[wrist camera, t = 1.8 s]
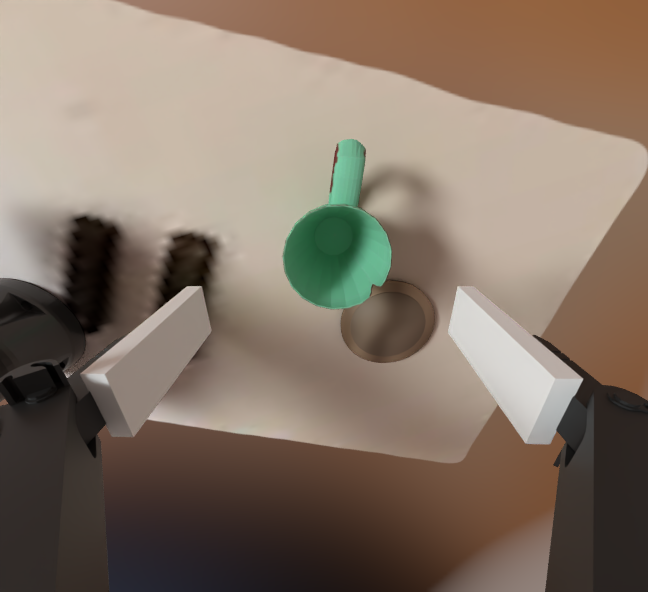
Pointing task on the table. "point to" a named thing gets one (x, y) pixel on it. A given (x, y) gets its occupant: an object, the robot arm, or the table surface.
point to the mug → (338, 241)
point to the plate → (388, 323)
